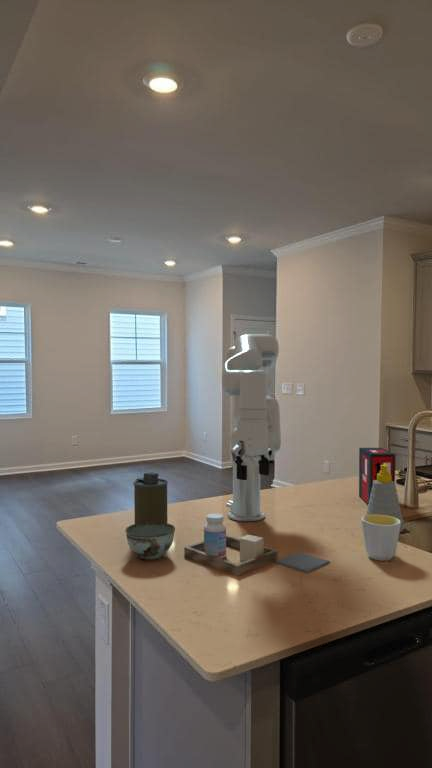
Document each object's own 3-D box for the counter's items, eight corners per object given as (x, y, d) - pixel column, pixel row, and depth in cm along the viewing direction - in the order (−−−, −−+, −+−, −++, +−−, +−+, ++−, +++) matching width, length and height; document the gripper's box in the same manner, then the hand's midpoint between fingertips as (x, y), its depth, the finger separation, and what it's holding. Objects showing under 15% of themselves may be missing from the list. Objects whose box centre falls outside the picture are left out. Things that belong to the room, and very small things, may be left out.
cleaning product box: (359, 497, 213) (359, 447, 212) (381, 497, 213) (381, 447, 212) (370, 508, 196) (370, 454, 196) (394, 508, 196) (395, 454, 196)
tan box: (239, 560, 143) (239, 538, 143) (247, 556, 147) (247, 534, 146) (255, 564, 140) (255, 541, 140) (263, 559, 144) (263, 537, 143)
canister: (175, 538, 162) (175, 472, 162) (148, 546, 154) (148, 478, 154) (152, 530, 170) (151, 468, 169) (125, 538, 162) (125, 473, 161)
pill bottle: (224, 560, 143) (223, 519, 142) (201, 559, 144) (201, 518, 144) (228, 553, 149) (227, 513, 148) (206, 551, 150) (206, 512, 150)
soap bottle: (404, 524, 176) (404, 463, 175) (404, 535, 164) (404, 469, 164) (365, 520, 180) (365, 461, 179) (362, 531, 168) (363, 467, 168)
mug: (398, 566, 138) (398, 526, 138) (358, 560, 143) (358, 522, 142) (403, 550, 151) (403, 513, 151) (366, 545, 155) (366, 509, 155)
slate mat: (276, 562, 141) (276, 560, 141) (298, 553, 148) (298, 551, 148) (307, 572, 134) (307, 570, 134) (329, 562, 141) (329, 560, 141)
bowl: (154, 570, 136) (154, 539, 136) (115, 560, 144) (114, 530, 143) (185, 554, 148) (185, 525, 148) (147, 545, 155) (147, 518, 155)
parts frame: (184, 556, 146) (184, 547, 146) (224, 542, 158) (224, 534, 158) (237, 576, 132) (237, 566, 132) (277, 559, 143) (277, 550, 143)
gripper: (261, 413, 156) (261, 471, 156) (221, 416, 143) (222, 479, 143) (282, 414, 151) (282, 474, 151) (243, 417, 138) (243, 483, 138)
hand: (253, 477), depth 147 cm, fingers open, 9 cm apart
